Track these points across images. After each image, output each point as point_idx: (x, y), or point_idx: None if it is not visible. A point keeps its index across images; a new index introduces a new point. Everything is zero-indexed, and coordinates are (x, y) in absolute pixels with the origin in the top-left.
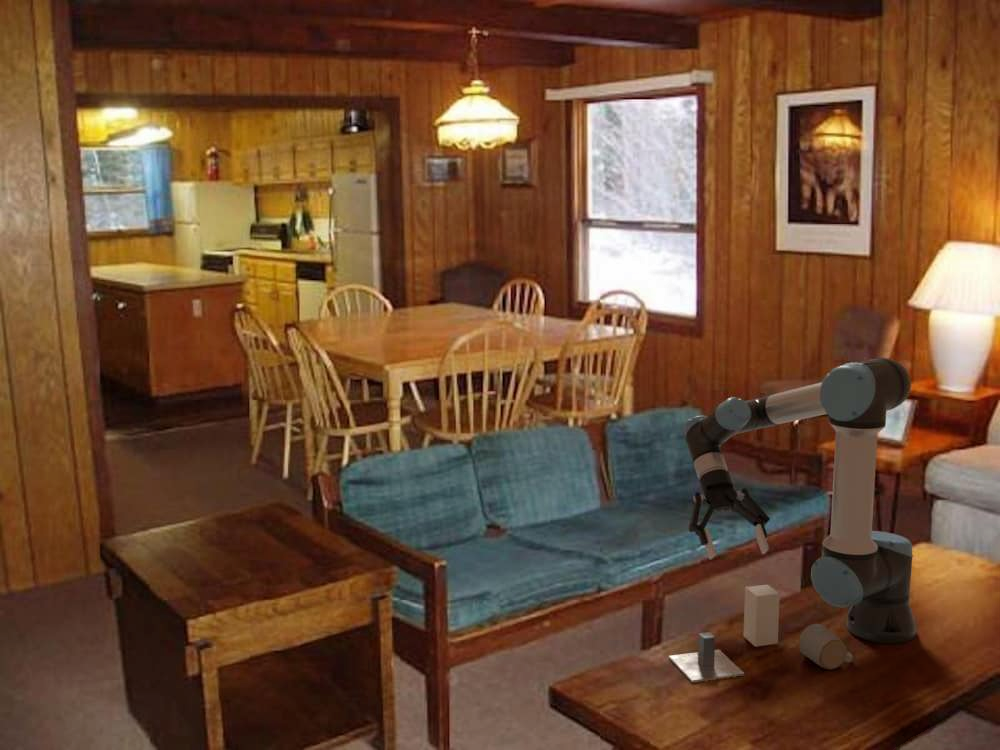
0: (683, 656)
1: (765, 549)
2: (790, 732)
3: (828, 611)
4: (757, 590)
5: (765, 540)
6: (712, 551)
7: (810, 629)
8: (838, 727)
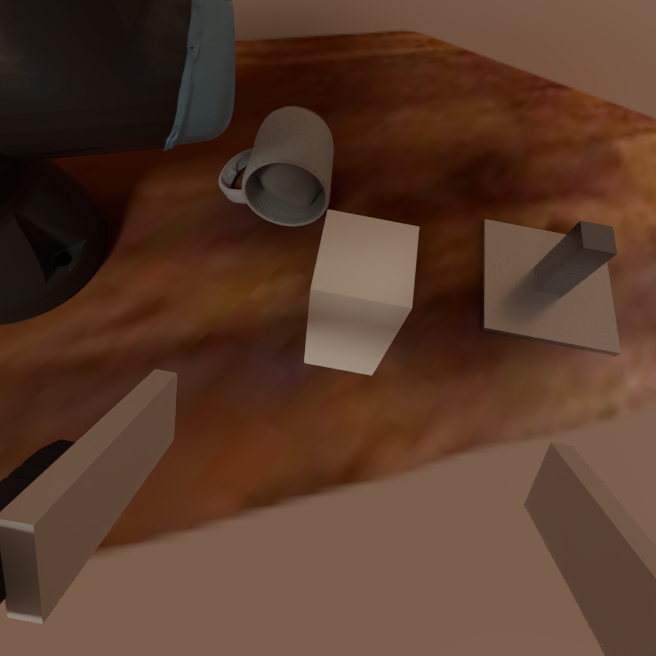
0: (586, 335)
1: (175, 383)
2: (502, 79)
3: (4, 404)
4: (385, 262)
5: (125, 403)
6: (583, 459)
7: (311, 156)
8: (425, 60)
